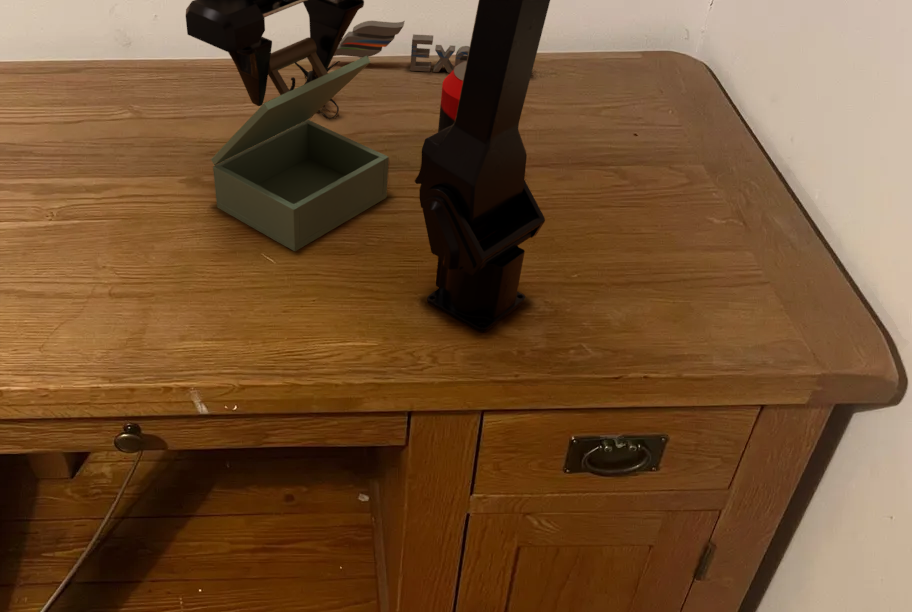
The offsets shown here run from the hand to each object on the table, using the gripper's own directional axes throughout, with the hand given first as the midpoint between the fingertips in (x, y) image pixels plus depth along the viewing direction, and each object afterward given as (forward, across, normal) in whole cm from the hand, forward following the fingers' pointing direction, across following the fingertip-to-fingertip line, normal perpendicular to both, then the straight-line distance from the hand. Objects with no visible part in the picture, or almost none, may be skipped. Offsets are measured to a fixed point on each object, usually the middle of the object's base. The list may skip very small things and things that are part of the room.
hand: (288, 90), depth 87 cm
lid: (+2, 0, 0) cm, 2 cm away
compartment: (+12, 0, +2) cm, 12 cm away
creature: (+12, -15, -12) cm, 23 cm away
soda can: (+12, -15, +12) cm, 22 cm away
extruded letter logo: (+12, -33, -9) cm, 36 cm away
